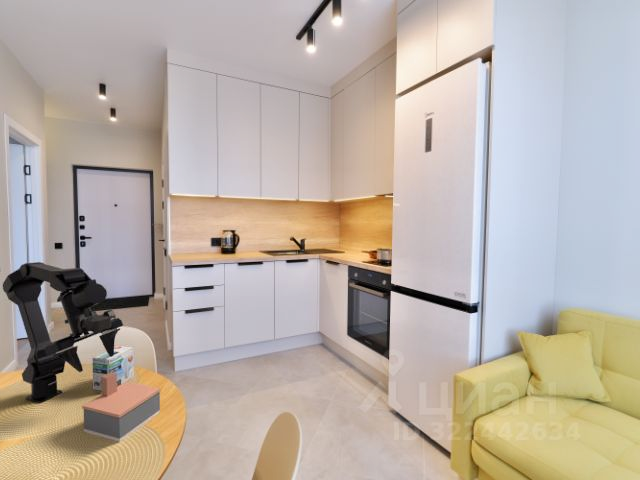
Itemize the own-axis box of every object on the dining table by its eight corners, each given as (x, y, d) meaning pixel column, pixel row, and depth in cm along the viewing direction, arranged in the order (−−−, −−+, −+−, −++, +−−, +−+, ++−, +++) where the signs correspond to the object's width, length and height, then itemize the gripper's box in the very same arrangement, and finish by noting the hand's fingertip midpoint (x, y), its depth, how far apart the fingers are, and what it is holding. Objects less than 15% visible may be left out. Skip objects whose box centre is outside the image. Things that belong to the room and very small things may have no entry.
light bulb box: (109, 392, 103) (108, 359, 103) (91, 390, 105) (91, 357, 104) (135, 377, 114) (134, 347, 113) (118, 374, 115) (118, 345, 114)
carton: (84, 431, 84) (83, 409, 84) (127, 404, 97) (126, 385, 96) (119, 441, 81) (119, 418, 80) (159, 412, 93) (159, 392, 93)
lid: (82, 408, 84) (81, 386, 83) (127, 383, 96) (126, 364, 96) (119, 418, 80) (118, 394, 80) (160, 391, 93) (160, 370, 92)
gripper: (62, 315, 80) (83, 374, 80) (126, 295, 98) (144, 343, 98) (34, 326, 84) (55, 382, 84) (101, 305, 102) (118, 351, 101)
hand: (97, 363), depth 92 cm, fingers open, 9 cm apart
